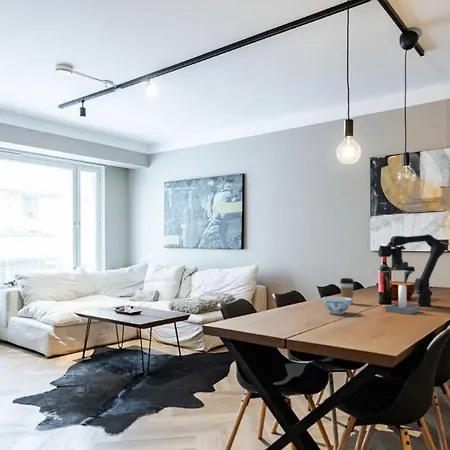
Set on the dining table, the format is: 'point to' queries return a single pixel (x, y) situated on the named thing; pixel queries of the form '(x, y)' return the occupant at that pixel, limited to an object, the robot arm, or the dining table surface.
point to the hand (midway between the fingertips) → (397, 283)
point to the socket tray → (402, 309)
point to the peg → (402, 296)
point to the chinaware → (337, 304)
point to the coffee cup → (347, 288)
